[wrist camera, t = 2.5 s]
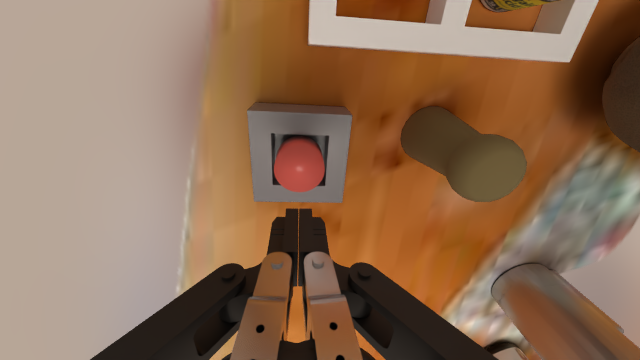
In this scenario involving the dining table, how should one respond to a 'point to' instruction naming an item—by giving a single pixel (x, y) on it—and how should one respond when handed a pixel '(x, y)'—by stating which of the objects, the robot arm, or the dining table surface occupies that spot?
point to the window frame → (455, 32)
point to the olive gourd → (464, 154)
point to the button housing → (298, 120)
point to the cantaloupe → (624, 96)
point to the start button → (299, 164)
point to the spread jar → (506, 352)
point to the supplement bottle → (512, 4)
